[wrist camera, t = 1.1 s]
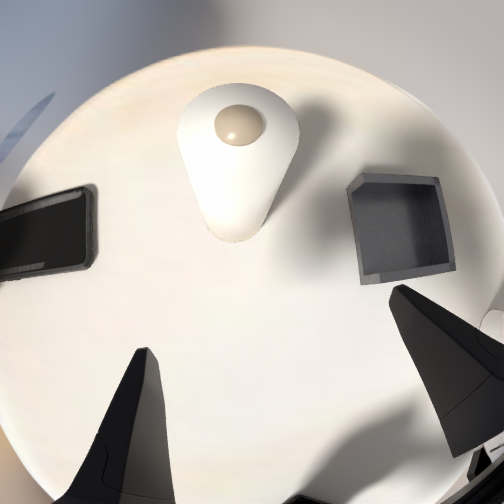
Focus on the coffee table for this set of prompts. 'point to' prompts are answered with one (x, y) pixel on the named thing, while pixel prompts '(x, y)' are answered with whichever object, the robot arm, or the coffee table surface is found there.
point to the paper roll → (237, 155)
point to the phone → (47, 236)
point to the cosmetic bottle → (494, 325)
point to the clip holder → (400, 227)
